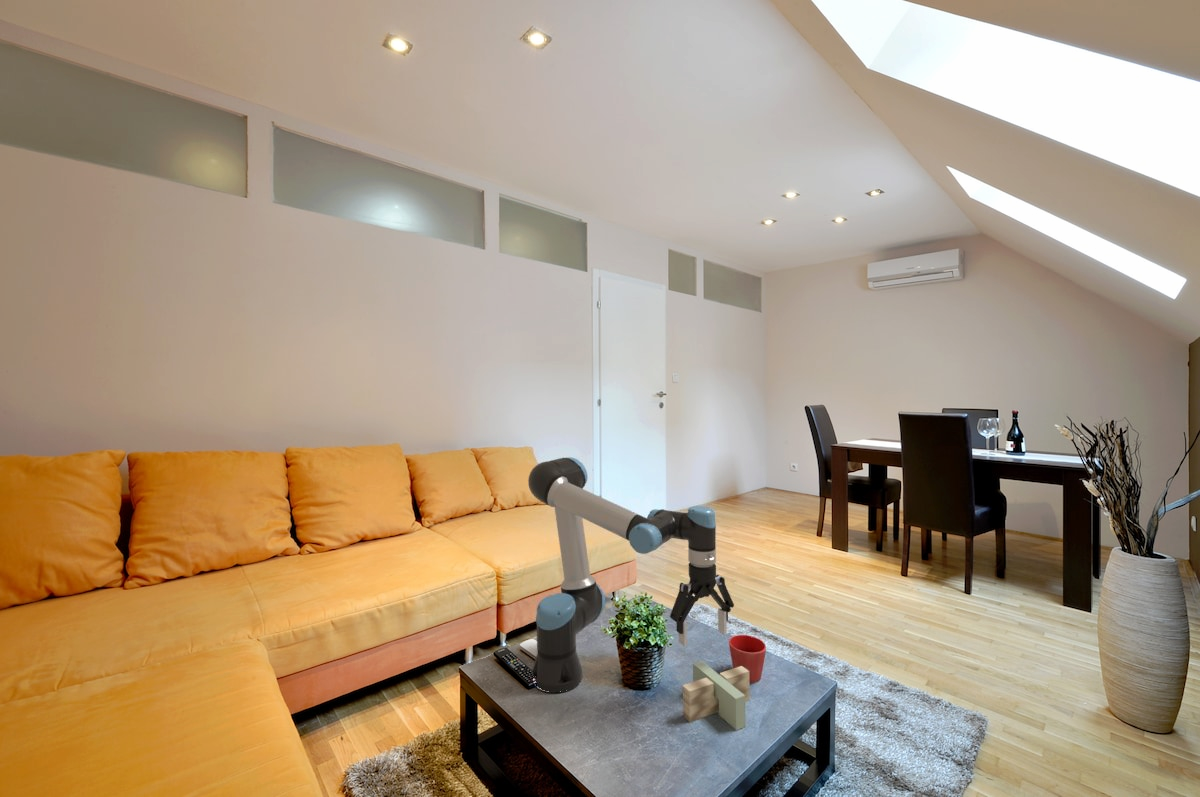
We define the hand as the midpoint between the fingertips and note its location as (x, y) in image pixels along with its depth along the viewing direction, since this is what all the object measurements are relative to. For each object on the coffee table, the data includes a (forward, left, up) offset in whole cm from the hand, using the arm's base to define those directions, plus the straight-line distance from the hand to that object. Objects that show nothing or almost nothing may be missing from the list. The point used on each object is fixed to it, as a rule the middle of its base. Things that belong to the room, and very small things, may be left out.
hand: (703, 638), depth 135 cm
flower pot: (+11, +14, -16) cm, 24 cm away
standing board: (+4, -4, -16) cm, 17 cm away
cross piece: (+4, -4, -16) cm, 17 cm away
